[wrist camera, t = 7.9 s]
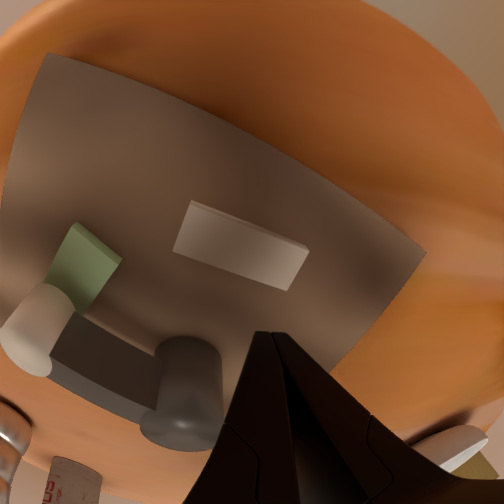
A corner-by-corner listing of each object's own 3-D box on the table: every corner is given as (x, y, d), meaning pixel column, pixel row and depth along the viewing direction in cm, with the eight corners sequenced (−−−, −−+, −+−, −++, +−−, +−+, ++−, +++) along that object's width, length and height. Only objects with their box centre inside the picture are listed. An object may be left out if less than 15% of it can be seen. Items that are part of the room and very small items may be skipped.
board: (264, 408, 20) (268, 436, 18) (12, 308, 14) (-6, 331, 12) (407, 236, 15) (433, 257, 12) (68, 58, 9) (40, 49, 7)
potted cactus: (463, 455, 49) (494, 523, 22) (423, 477, 48) (453, 553, 21) (488, 430, 42) (528, 506, 15) (447, 455, 42) (485, 542, 15)
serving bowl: (352, 486, 36) (360, 515, 30) (374, 445, 27) (391, 488, 21) (445, 447, 37) (457, 471, 31) (490, 388, 28) (510, 418, 22)
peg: (235, 356, 14) (242, 430, 10) (199, 390, 15) (197, 457, 11) (53, 249, 11) (-1, 306, 7) (37, 301, 12) (-3, 358, 8)
